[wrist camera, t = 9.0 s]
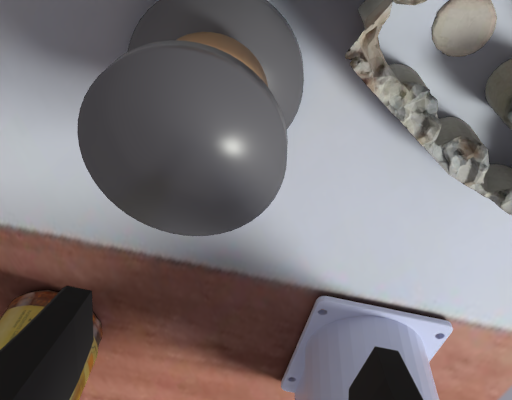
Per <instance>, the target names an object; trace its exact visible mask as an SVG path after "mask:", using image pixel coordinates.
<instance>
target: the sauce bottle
mask: <svg viewBox="0 0 512 400" xmlns="http://www.w3.org/2000/svg"><path fill="white" fill-rule="evenodd" d="M58 293H59V292H54V291H50V290H45V291H35V292H31V293H27V294H24V295H21V296H19V297H17V298H15V299H14V300H13V301H12V303H11V304H10V305H9V306H8V309H7V310H6V311H5V313H4V314H3V316H0V350H1V349H2V348H3V347H4V346H5V345H6V344H7V343H8V342H9V341H10V340H11V339H12V338H14V337H15V336H16V335H17V334H18V333H19V332H20V331H21V330H22V329H23V328H24V327H25V326H26V325H27V324H28V323H29V322H30V321H31V320H32V319H33V318H34V317H35V316H36V315H37V314H38V313H39V312H40V311H41V310H42V309H43V308H44V307H45V306H46V305H47V304H48V303H49V302H50V301H51V300H52V299H53V298H54V297H55V296H56V295H57V294H58ZM93 337H94V341H93V344H92V347H91V349H90V352H89V355H88V358H87V360H86V363H85V366H84V368H83V371H82V373H81V376H80V379H79V381H78V383H77V385H76V387H75V389H74V392H73V394H72V396H71V398H70V400H79V398H80V396H81V394H82V391H83V389H84V387H85V384H86V382H87V379H88V377H89V375H90V372H91V370H92V367H93V365H94V363H95V360H96V358H97V354H98V346H99V343H100V341H101V339H102V326H101V323H100V321H99V320H98V319H97V318H96V316H95V314H94V313H93Z"/></svg>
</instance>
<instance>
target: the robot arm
mask: <svg viewBox="0 0 512 400" xmlns="http://www.w3.org/2000/svg"><path fill="white" fill-rule="evenodd" d="M321 309H324V310H321ZM452 330H453V328H452V325H451V323H450V322H449V321H446V320H441V319H436V318H432V317H427V316H422V315H417V314H412V313H407V312H402V311H398V310H393V309H388V308H383V307H378V306H373V305H368V304H364V303H359V302H354V301H349V300H344V299H339V298H334V297H329V296H321V297H319V298H318V299H317V300H316V302H315V304H314V307H313V309H312V311H311V314H310V316H309V318H308V321H307V323H306V325H305V328H304V330H303V332H302V335H301V337H300V339H299V341H298V344H297V346H296V348H295V351H294V353H293V355H292V358H291V360H290V362H289V365H288V367H287V369H286V372H285V374H284V376H283V379H282V381H281V388H282V389H283V390H285V391H289V392H294V393H295V400H439V398H438V394H437V390H436V387H435V383H434V379H433V376H432V372H431V368H430V365H429V361H430V360H431V359H432V357H433V356H434V355H435V354H436V352H437V351H438V350H439V348H440V347H441V346H442V344H443V343H444V342H445V340H446V339H447V338H448V336H449V335H450V334H451V332H452ZM93 341H94V337H93V309H92V291H90V290H85V289H80V288H75V287H70V286H66V287H64V288H62V289H61V290H60V292H59V293H58V294H57V295H56V296H55V297H54V298H53V299H52V300H51V301H50V302H49V303H48V304H47V305H46V306H45V307H44V308H43V309H42V310H41V311H40V312H39V313H38V314H37V315H36V316H35V317H34V318H33V319H32V320H31V321H30V322H29V323H28V324H27V325H26V326H25V327H24V328H23V329H22V330H21V331H20V332H19V333H18V334H17V335H16V336H15V337H14V338H12V339H11V340H10V341H9V342H8V343H7V344H6V345H5V346H4V347H3V348H2V349H1V350H0V400H70V398H71V396H72V394H73V392H74V389H75V387H76V385H77V383H78V381H79V379H80V376H81V373H82V371H83V368H84V366H85V363H86V360H87V358H88V355H89V352H90V349H91V347H92V344H93Z"/></svg>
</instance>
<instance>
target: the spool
mask: <svg viewBox="0 0 512 400" xmlns="http://www.w3.org/2000/svg"><path fill="white" fill-rule="evenodd" d="M303 81H304V78H303V61H302V56H301V51H300V48H299V45H298V42H297V39H296V37H295V35H294V33H293V31H292V29H291V27H290V26H289V24H288V23H287V21H286V20H285V19H284V17H283V16H282V15H281V14H280V13H279V12H278V10H277V9H276V8H275V7H273V6H272V5H271V4H270V3H269V2H268V1H266V0H159V1H158V2H157V3H156V4H154V5H153V6H152V7H151V8H150V9H149V10H148V11H147V12H146V13H145V15H144V16H143V17H142V18H141V20H140V21H139V23H138V25H137V27H136V28H135V30H134V33H133V35H132V38H131V40H130V44H129V48H128V52H127V53H126V54H124V55H123V56H121V57H120V58H118V59H117V60H116V61H115V62H114V63H113V64H111V65H110V66H109V67H108V68H107V69H106V70H105V71H104V72H103V73H102V74H101V75H99V76H98V78H97V79H96V80H95V81H94V83H93V84H92V85H91V86H90V88H89V90H88V92H87V93H86V95H85V97H84V100H83V102H82V105H81V108H80V113H79V118H78V140H79V147H80V151H81V154H82V158H83V160H84V163H85V165H86V168H87V170H88V171H89V173H90V175H91V177H92V179H93V180H94V182H95V183H96V184H97V186H98V187H99V189H100V190H101V191H102V192H103V193H104V194H105V195H106V197H107V198H108V199H109V200H110V201H112V202H113V203H114V204H115V205H116V206H117V207H118V208H120V209H121V210H122V211H124V212H125V213H126V214H128V215H129V216H131V217H133V218H134V219H136V220H138V221H140V222H142V223H144V224H146V225H148V226H150V227H153V228H156V229H159V230H161V231H165V232H169V233H173V234H179V235H187V236H208V235H215V234H221V233H224V232H228V231H232V230H234V229H237V228H239V227H241V226H243V225H245V224H247V223H249V222H251V221H252V220H253V219H255V218H256V217H257V216H259V215H260V214H261V213H262V212H263V211H264V210H265V209H266V208H267V207H268V206H269V205H270V203H271V202H272V201H273V200H274V198H275V196H276V195H277V193H278V191H279V189H280V187H281V184H282V182H283V179H284V175H285V170H286V161H287V142H288V141H287V128H288V127H289V126H290V124H291V123H292V121H293V119H294V117H295V115H296V113H297V111H298V108H299V105H300V102H301V98H302V93H303Z"/></svg>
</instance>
